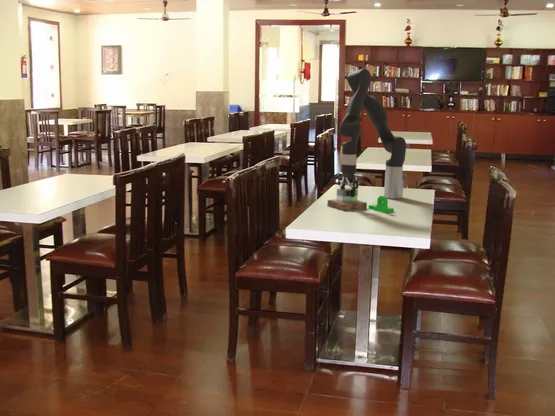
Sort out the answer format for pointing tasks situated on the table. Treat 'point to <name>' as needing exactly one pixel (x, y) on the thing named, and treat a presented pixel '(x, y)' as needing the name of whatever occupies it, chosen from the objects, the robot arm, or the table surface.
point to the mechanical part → (382, 205)
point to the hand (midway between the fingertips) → (347, 195)
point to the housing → (346, 195)
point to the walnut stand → (347, 205)
